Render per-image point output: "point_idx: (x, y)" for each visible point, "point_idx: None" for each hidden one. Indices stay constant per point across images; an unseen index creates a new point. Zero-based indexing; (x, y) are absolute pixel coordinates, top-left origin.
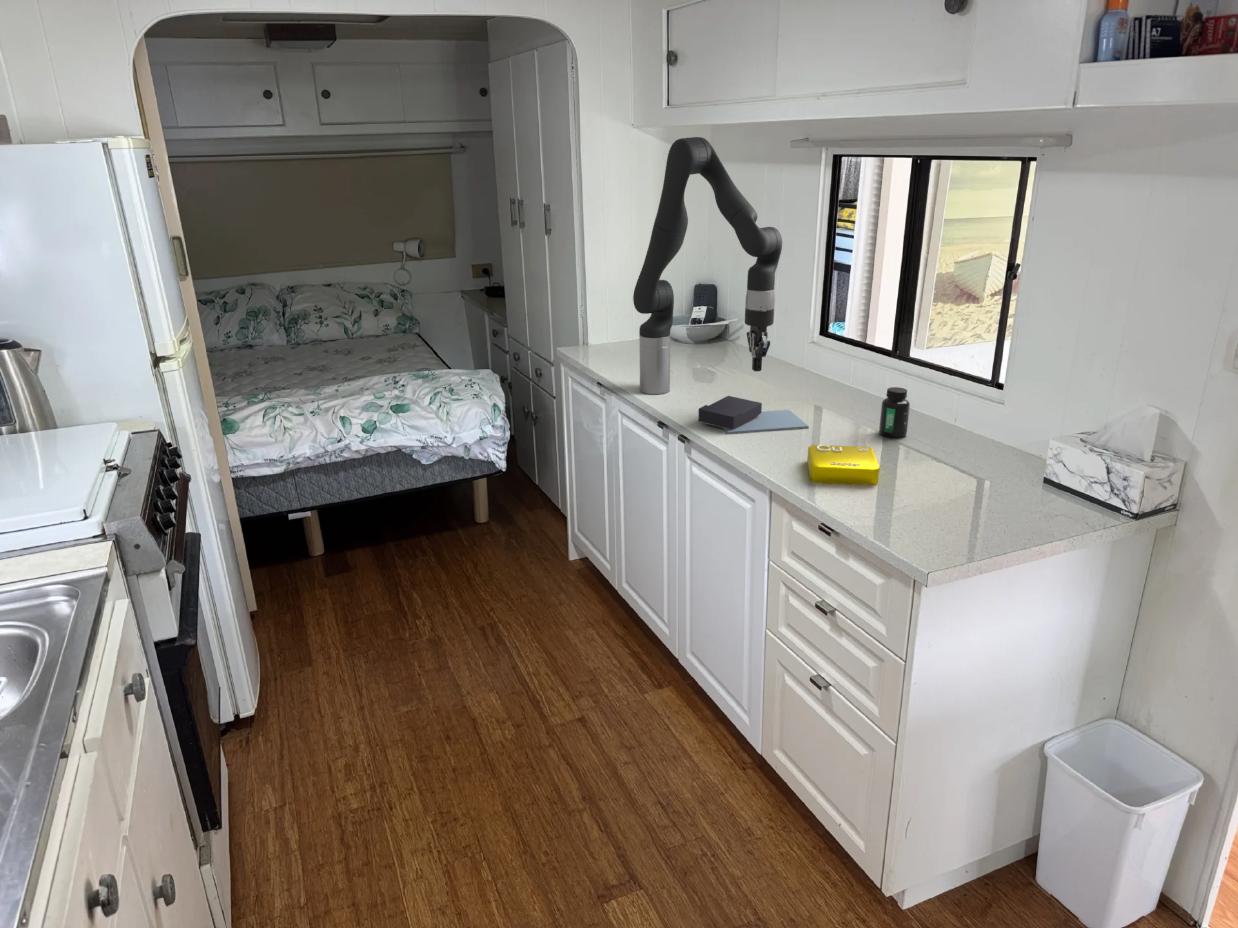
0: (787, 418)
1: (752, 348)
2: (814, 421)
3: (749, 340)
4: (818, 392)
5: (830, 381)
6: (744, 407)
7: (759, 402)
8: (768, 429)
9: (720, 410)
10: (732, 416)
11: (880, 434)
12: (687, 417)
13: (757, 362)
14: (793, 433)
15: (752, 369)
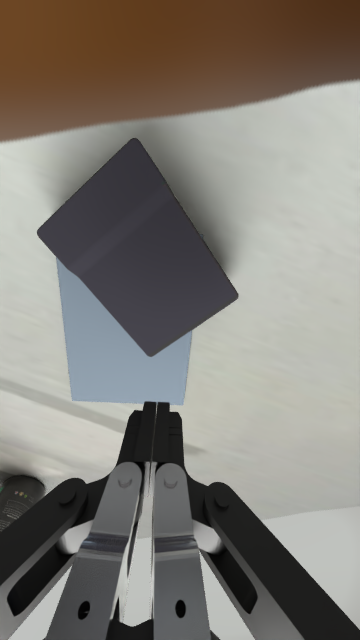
0: (128, 384)
1: (164, 538)
2: (113, 420)
3: (290, 625)
4: (269, 477)
5: (313, 508)
6: (127, 303)
7: (155, 354)
8: (64, 323)
9: (98, 213)
10: (37, 231)
11: (21, 476)
12: (224, 159)
13: (122, 449)
14: (46, 362)
15: (162, 402)
